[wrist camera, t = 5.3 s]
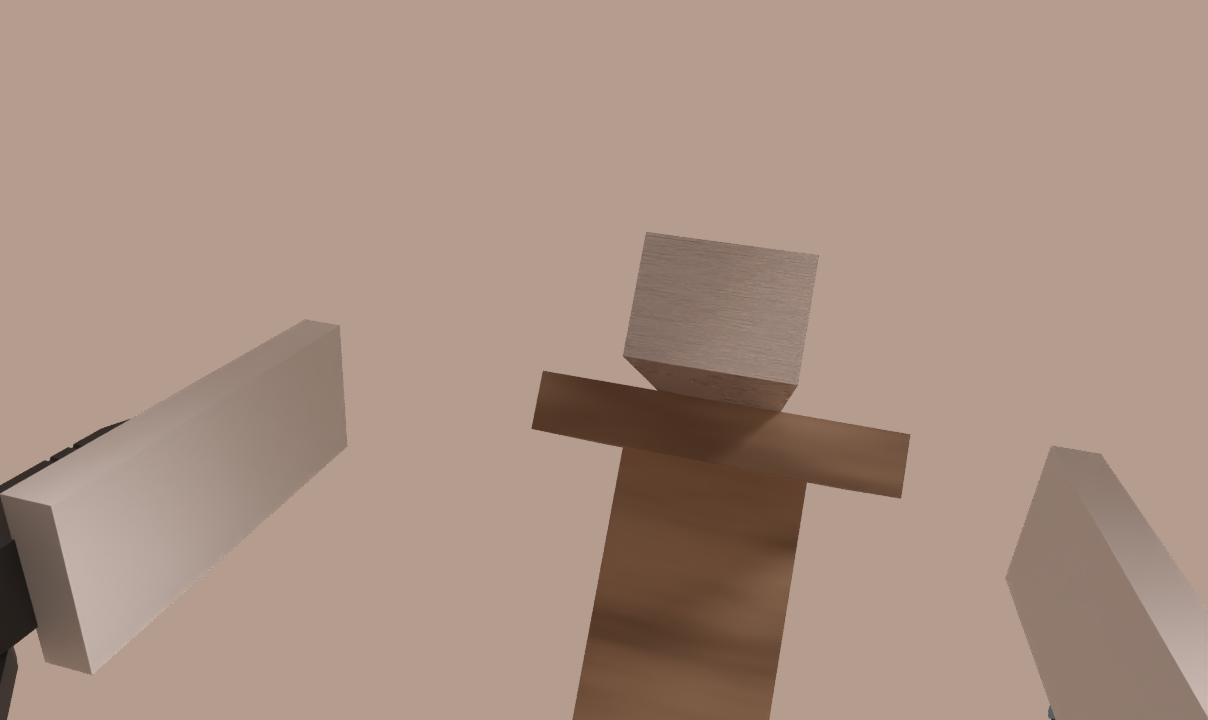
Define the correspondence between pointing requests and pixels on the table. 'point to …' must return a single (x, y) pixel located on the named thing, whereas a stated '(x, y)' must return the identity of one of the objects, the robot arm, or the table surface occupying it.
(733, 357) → the grey block
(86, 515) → the robot arm
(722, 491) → the stand
